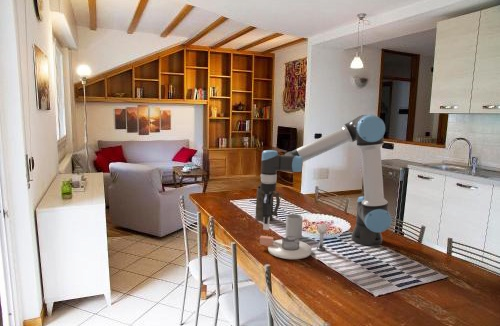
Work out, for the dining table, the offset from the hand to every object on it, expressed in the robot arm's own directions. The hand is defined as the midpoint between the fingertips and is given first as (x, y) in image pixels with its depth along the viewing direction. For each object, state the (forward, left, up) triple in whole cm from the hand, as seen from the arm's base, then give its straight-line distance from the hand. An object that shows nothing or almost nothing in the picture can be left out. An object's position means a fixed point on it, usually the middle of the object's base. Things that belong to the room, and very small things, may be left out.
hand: (266, 229), depth 171 cm
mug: (-11, -16, -8) cm, 21 cm away
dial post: (-27, -1, -7) cm, 28 cm away
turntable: (-11, +7, -6) cm, 14 cm away
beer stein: (+7, -39, -8) cm, 40 cm away
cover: (-13, +7, -5) cm, 16 cm away
